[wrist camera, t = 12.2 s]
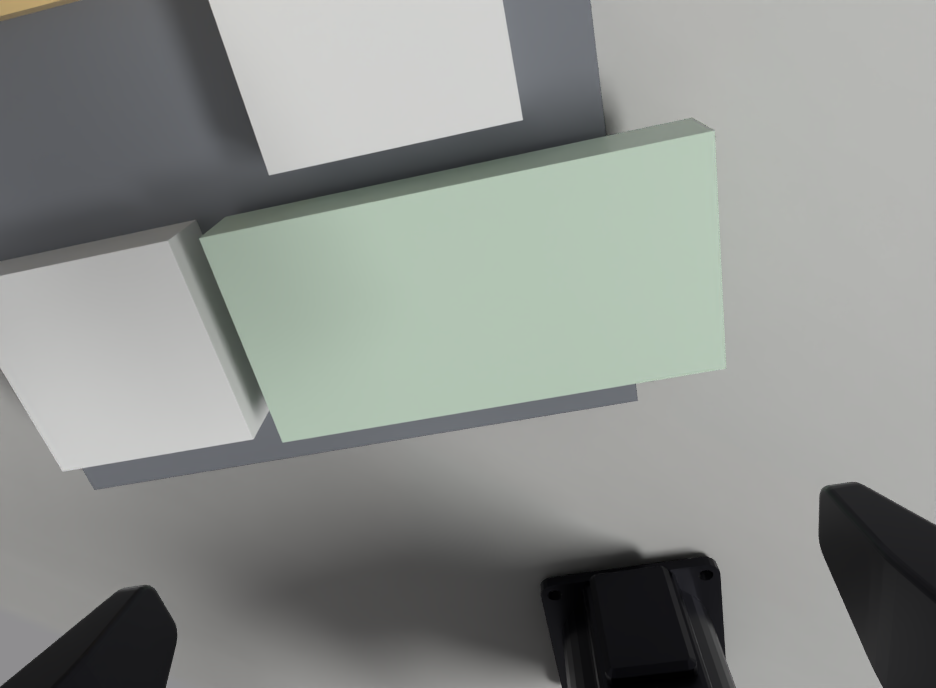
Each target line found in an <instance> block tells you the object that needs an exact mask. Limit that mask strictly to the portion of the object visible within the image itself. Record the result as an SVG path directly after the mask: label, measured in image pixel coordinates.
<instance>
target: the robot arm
mask: <svg viewBox="0 0 936 688" xmlns="http://www.w3.org/2000/svg"><path fill="white" fill-rule="evenodd" d="M819 543H820V547H821V550H822V553H823V556H824V558H825V561H826V563H827V565H828V567H829V570H830V572H831V574H832V577H833V579H834V581H835V583H836V586H837V588H838V590H839V593H840V595H841V597H842V599H843V602H844V604H845V606H846V609H847V611H848V613H849V615H850V618H851V620H852V622H853V625H854V627H855V629H856V631H857V634H858V636H859V638H860V641H861V643H862V645H863V647H864V650H865V652H866V654H867V656H868V659H869V661H870V663H871V665H872V667H873V669H874V671H875V673H876V675H877V677H878V679H879V681H880V683H881V685H882V686H883V688H936V525H935V524H933V523H931V522H929V521H928V520H926V519H924V518H922V517H920V516H919V515H917V514H915V513H913V512H911V511H910V510H908V509H906V508H904V507H902V506H901V505H899V504H897V503H895V502H893V501H892V500H890V499H888V498H886V497H884V496H883V495H881V494H879V493H877V492H875V491H874V490H872V489H870V488H868V487H866V486H865V485H863V484H860V483H857V482H847V483H841V484H834V485H827V486H825V487H823V488H822V489H821V492H820V497H819ZM704 570H707V571H705V572H702V571H704ZM553 590H557V591H556V592H551V591H553ZM541 598H542V602H543V607H544V611H545V615H546V620H547V624H548V628H549V633H550V637H551V641H552V646H553V650H554V654H555V659H556V663H557V668H558V672H559V676H560V681H561V685H562V688H736V687H735V684H734V681H733V678H732V676H731V673H730V670H729V667H728V664H727V662H726V657H725V641H724V625H723V609H722V593H721V577H720V571H719V569H718V566H717V564H716V561H715V560H713V559H712V558H709V557H698V558H691V559H683V560H676V561H668V562H661V563H654V564H646V565H639V566H631V567H624V568H617V569H609V570H602V571H594V572H587V573H579V574H572V575H565V576H557V577H551V578H547V579H546V580H544V581H543V582H542V584H541ZM176 643H177V628H176V624H175V622H174V620H173V618H172V617H171V615H170V613H169V612H168V610H167V608H166V607H165V605H164V603H163V601H162V600H161V598H160V596H159V595H158V593H157V591H156V590H155V589H154V588H153V587H151V586H149V585H141V586H134V587H127V588H123V589H120V590H118V591H117V592H115V593H114V594H113V595H112V596H110V597H109V598H108V599H107V600H106V601H104V602H103V603H102V604H101V605H99V606H98V607H97V608H96V609H95V610H93V611H92V612H91V613H90V614H88V615H87V616H86V617H85V618H84V619H82V620H81V621H80V622H79V623H77V624H76V625H75V626H74V627H73V628H71V629H70V630H69V631H68V632H66V633H65V634H64V635H63V636H62V637H60V638H59V639H58V640H57V641H55V642H54V643H53V644H52V645H51V646H49V647H48V648H47V649H46V650H45V651H44V652H42V653H41V654H40V655H38V656H37V657H36V658H35V659H33V660H32V661H31V662H30V663H29V664H27V665H26V666H25V667H24V668H22V669H21V670H20V671H19V672H18V673H17V674H15V675H14V676H13V677H11V678H10V679H9V680H8V681H7V682H6V683H4V684H3V685H2V686H1V687H0V688H166V684H167V680H168V676H169V672H170V668H171V664H172V660H173V655H174V651H175V647H176Z"/></svg>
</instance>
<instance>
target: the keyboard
mask: <svg viewBox="0 0 936 688" xmlns="http://www.w3.org/2000/svg"><path fill="white" fill-rule="evenodd" d="M604 136H606V129H605V121H604V112H603V104H602V96H601V87H600V79H599V70H598V62H597V53H596V45H595V37H594V28H593V20H592V11H591V3H590V0H0V368H1V370H2V372H3V373H4V375H5V377H6V378H7V380H8V382H9V383H10V385H11V387H12V388H13V390H14V392H15V393H16V395H17V397H18V398H19V400H20V402H21V403H22V405H23V407H24V408H25V410H26V412H27V413H28V415H29V416H30V418H31V420H32V421H33V423H34V425H35V426H36V428H37V430H38V431H39V433H40V435H41V436H42V438H43V440H44V441H45V443H46V445H47V446H48V448H49V450H50V451H51V453H52V455H53V456H54V458H55V460H56V461H57V463H58V465H59V466H60V468H61V470H62V471H69V470H75V469H81V468H82V469H83V471H84V473H85V474H86V476H87V478H88V480H89V481H90V483H91V485H92V486H93V488H94V490H97V489H103V488H109V487H115V486H121V485H127V484H133V483H139V482H145V481H152V480H158V479H164V478H170V477H176V476H182V475H188V474H194V473H200V472H206V471H212V470H219V469H225V468H231V467H237V466H243V465H249V464H255V463H261V462H267V461H273V460H280V459H286V458H292V457H298V456H304V455H310V454H316V453H322V452H328V451H334V450H340V449H347V448H353V447H359V446H365V445H371V444H377V443H383V442H389V441H395V440H401V439H408V438H414V437H420V436H426V435H432V434H438V433H444V432H450V431H456V430H462V429H468V428H475V427H481V426H487V425H493V424H499V423H505V422H511V421H517V420H523V419H529V418H535V417H542V416H548V415H554V414H560V413H566V412H572V411H578V410H584V409H590V408H596V407H603V406H609V405H615V404H621V403H627V402H633V401H638V399H637V390H636V384H631V385H625V386H619V387H613V388H607V389H601V390H595V391H589V392H583V393H577V394H571V395H565V396H559V397H553V398H547V399H541V400H535V401H529V402H523V403H517V404H511V405H505V406H499V407H493V408H487V409H481V410H475V411H469V412H463V413H457V414H451V415H445V416H439V417H433V418H427V419H421V420H415V421H409V422H403V423H397V424H391V425H385V426H379V427H373V428H367V429H361V430H356V431H350V432H344V433H338V434H332V435H326V436H320V437H314V438H308V439H302V440H296V441H290V442H284V443H283V442H282V440H281V438H280V435H279V433H278V430H277V428H276V425H275V423H274V420H273V418H272V416H271V413H270V411H269V408H268V406H267V403H266V401H265V398H264V396H263V394H262V391H261V389H260V386H259V384H258V381H257V379H256V377H255V374H254V372H253V369H252V367H251V364H250V362H249V359H248V357H247V355H246V352H245V350H244V347H243V345H242V342H241V340H240V337H239V335H238V333H237V330H236V328H235V325H234V323H233V320H232V318H231V316H230V313H229V311H228V308H227V306H226V303H225V301H224V298H223V296H222V294H221V291H220V289H219V286H218V284H217V281H216V279H215V277H214V274H213V272H212V269H211V267H210V264H209V262H208V259H207V257H206V255H205V252H204V250H203V247H202V245H201V242H200V240H199V238H200V237H201V236H202V235H204V234H205V233H206V232H207V231H208V230H210V229H211V228H212V227H213V226H215V225H216V224H217V223H218V222H220V221H221V220H222V219H223V218H224V217H227V216H231V215H236V214H241V213H245V212H250V211H255V210H260V209H264V208H269V207H274V206H278V205H283V204H288V203H293V202H297V201H302V200H307V199H311V198H316V197H321V196H326V195H330V194H335V193H340V192H344V191H349V190H354V189H359V188H363V187H368V186H373V185H377V184H382V183H387V182H392V181H396V180H401V179H406V178H410V177H415V176H420V175H425V174H429V173H434V172H439V171H443V170H448V169H453V168H458V167H462V166H467V165H472V164H476V163H481V162H486V161H491V160H495V159H500V158H505V157H509V156H514V155H519V154H524V153H528V152H533V151H538V150H542V149H547V148H552V147H557V146H561V145H566V144H571V143H575V142H580V141H585V140H590V139H594V138H599V137H604Z"/></svg>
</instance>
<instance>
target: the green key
mask: <svg viewBox="0 0 936 688" xmlns="http://www.w3.org/2000/svg"><path fill="white" fill-rule="evenodd" d="M199 240H200V242H201V245H202V247H203V250H204V252H205V255H206V257H207V259H208V262H209V264H210V267H211V269H212V272H213V274H214V277H215V279H216V281H217V284H218V286H219V289H220V291H221V294H222V296H223V298H224V301H225V303H226V306H227V308H228V311H229V313H230V316H231V318H232V320H233V323H234V325H235V328H236V330H237V333H238V335H239V337H240V340H241V342H242V345H243V347H244V350H245V352H246V355H247V357H248V359H249V362H250V364H251V367H252V369H253V372H254V374H255V377H256V379H257V381H258V384H259V386H260V389H261V391H262V394H263V396H264V398H265V401H266V403H267V406H268V408H269V411H270V413H271V416H272V418H273V420H274V423H275V425H276V428H277V430H278V433H279V435H280V438H281V440H282V442H283V443H284V442H290V441H296V440H302V439H308V438H314V437H320V436H326V435H332V434H338V433H344V432H350V431H356V430H361V429H367V428H373V427H379V426H385V425H391V424H397V423H403V422H409V421H415V420H421V419H427V418H433V417H439V416H445V415H451V414H457V413H463V412H469V411H475V410H481V409H487V408H493V407H499V406H505V405H511V404H517V403H523V402H529V401H535V400H541V399H547V398H553V397H559V396H565V395H571V394H577V393H583V392H589V391H595V390H601V389H607V388H613V387H619V386H625V385H631V384H637V383H643V382H649V381H655V380H661V379H667V378H673V377H679V376H685V375H690V374H696V373H702V372H708V371H714V370H720V369H726V355H725V334H724V313H723V293H722V272H721V251H720V231H719V210H718V189H717V169H716V148H715V130H713V129H711V128H709V127H708V126H706V125H704V124H702V123H700V122H699V121H697V120H695V119H693V118H689V119H684V120H679V121H675V122H670V123H665V124H660V125H656V126H651V127H646V128H642V129H637V130H632V131H627V132H623V133H618V134H613V135H609V136H604V137H599V138H594V139H590V140H585V141H580V142H575V143H571V144H566V145H561V146H557V147H552V148H547V149H542V150H538V151H533V152H528V153H524V154H519V155H514V156H509V157H505V158H500V159H495V160H491V161H486V162H481V163H476V164H472V165H467V166H462V167H458V168H453V169H448V170H443V171H439V172H434V173H429V174H425V175H420V176H415V177H410V178H406V179H401V180H396V181H392V182H387V183H382V184H377V185H373V186H368V187H363V188H359V189H354V190H349V191H344V192H340V193H335V194H330V195H326V196H321V197H316V198H311V199H307V200H302V201H297V202H293V203H288V204H283V205H278V206H274V207H269V208H264V209H260V210H255V211H250V212H245V213H241V214H236V215H231V216H227V217H224V218H223V219H222V220H221V221H220V222H218V223H217V224H216V225H215V226H213V227H212V228H211V229H210V230H208V231H207V232H206V233H205V234H204V235H202V236H201V237H200V238H199Z"/></svg>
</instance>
